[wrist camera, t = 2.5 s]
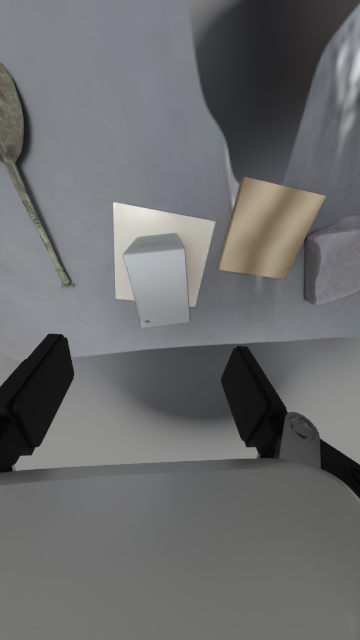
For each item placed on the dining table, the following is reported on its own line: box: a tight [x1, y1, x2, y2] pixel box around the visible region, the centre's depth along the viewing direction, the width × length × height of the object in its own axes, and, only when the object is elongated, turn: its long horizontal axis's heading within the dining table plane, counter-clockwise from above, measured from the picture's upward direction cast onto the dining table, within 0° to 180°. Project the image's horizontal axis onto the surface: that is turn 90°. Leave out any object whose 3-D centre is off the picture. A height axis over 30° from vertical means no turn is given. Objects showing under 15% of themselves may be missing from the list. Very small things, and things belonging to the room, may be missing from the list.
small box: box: [122, 233, 190, 328], centre depth 22 cm, size 8×6×10 cm
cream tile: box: [113, 202, 215, 307], centre depth 26 cm, size 13×13×1 cm
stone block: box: [304, 214, 360, 305], centre depth 28 cm, size 12×5×10 cm
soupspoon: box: [0, 63, 74, 289], centre depth 21 cm, size 22×3×7 cm
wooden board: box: [217, 177, 326, 279], centre depth 25 cm, size 11×11×1 cm
